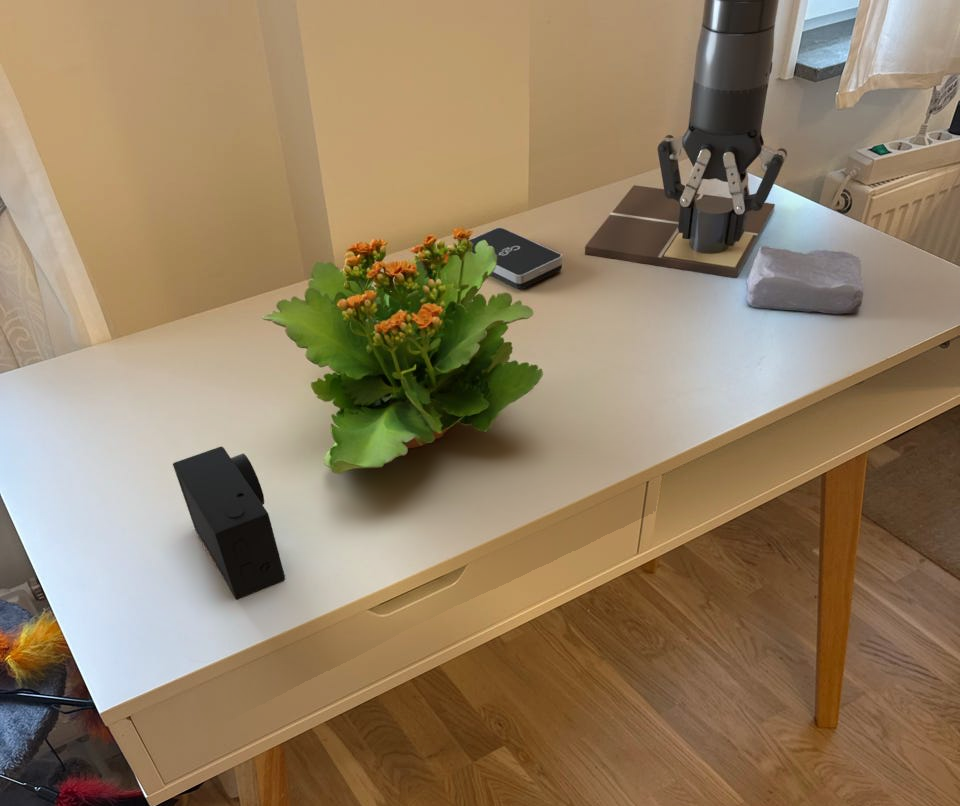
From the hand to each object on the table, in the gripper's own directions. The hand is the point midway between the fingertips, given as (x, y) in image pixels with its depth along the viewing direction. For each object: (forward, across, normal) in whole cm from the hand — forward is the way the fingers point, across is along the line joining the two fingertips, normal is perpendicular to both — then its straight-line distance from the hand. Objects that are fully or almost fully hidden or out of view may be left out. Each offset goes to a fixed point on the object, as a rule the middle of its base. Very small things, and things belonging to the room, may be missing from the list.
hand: (709, 239), depth 110 cm
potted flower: (+2, -18, -41) cm, 45 cm away
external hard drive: (+2, -20, -10) cm, 23 cm away
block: (+2, +12, -5) cm, 13 cm away
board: (+2, -4, +4) cm, 7 cm away
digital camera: (+2, -22, -63) cm, 67 cm away
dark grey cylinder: (+1, 0, 0) cm, 1 cm away
